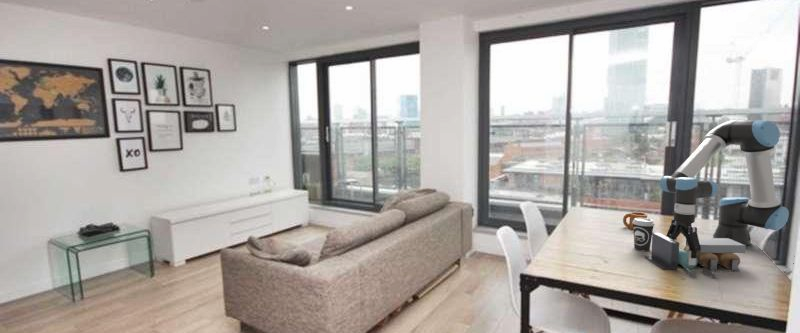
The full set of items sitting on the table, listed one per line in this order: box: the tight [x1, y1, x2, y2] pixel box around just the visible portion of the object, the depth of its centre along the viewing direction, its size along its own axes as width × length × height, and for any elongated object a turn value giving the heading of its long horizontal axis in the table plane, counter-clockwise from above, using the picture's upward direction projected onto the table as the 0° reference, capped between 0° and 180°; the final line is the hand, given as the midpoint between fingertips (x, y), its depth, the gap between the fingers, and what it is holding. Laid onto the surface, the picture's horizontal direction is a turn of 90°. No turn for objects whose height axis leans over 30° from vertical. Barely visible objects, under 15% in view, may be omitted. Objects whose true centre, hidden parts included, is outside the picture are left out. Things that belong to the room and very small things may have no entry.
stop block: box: [643, 232, 680, 271], centre depth 176 cm, size 6×15×12 cm, turn 175°
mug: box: [622, 211, 648, 231], centre depth 232 cm, size 9×12×9 cm
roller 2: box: [683, 245, 719, 269], centre depth 175 cm, size 14×7×7 cm, turn 175°
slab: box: [685, 237, 747, 254], centre depth 174 cm, size 18×10×4 cm, turn 85°
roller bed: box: [682, 259, 741, 279], centre depth 171 cm, size 23×25×5 cm
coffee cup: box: [632, 217, 656, 252], centre depth 196 cm, size 10×10×15 cm
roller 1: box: [678, 247, 698, 270], centre depth 176 cm, size 12×6×6 cm, turn 175°
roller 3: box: [713, 253, 741, 269], centre depth 174 cm, size 14×7×7 cm, turn 175°
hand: (681, 259), depth 176 cm, fingers open, 13 cm apart
